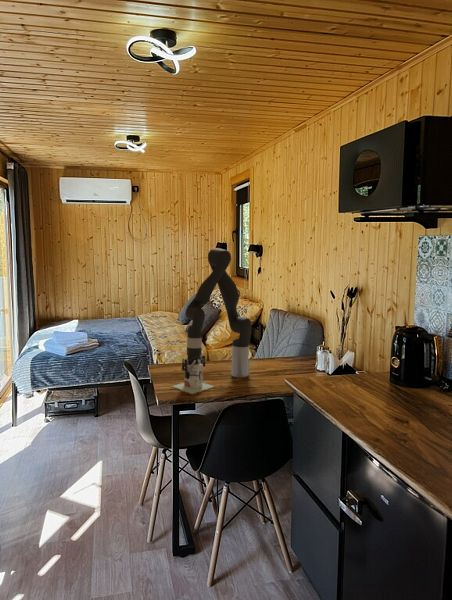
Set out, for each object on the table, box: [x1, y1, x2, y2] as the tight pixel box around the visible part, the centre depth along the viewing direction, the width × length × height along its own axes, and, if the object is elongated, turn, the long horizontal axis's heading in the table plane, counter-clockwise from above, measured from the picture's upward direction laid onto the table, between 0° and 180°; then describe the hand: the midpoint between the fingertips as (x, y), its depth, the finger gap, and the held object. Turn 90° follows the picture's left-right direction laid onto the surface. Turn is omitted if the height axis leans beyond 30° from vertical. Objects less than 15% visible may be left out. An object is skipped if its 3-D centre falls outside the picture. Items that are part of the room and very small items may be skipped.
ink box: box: [183, 364, 204, 389], centre depth 238 cm, size 9×5×12 cm, turn 57°
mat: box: [171, 382, 215, 395], centre depth 239 cm, size 16×15×1 cm
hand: (193, 377), depth 238 cm, fingers open, 8 cm apart
